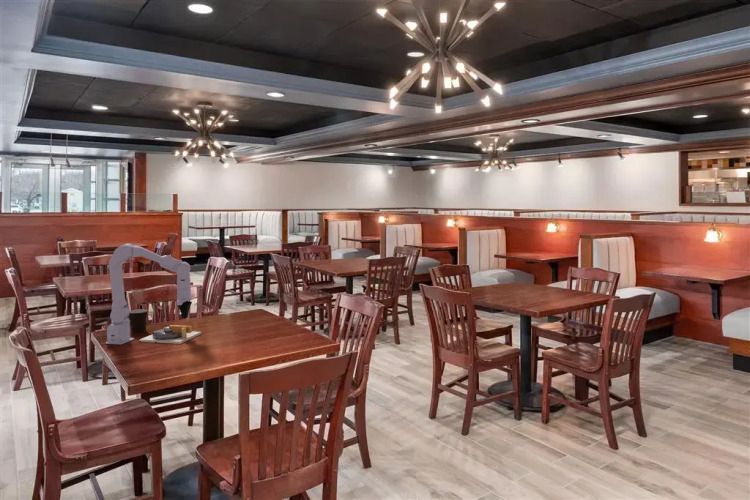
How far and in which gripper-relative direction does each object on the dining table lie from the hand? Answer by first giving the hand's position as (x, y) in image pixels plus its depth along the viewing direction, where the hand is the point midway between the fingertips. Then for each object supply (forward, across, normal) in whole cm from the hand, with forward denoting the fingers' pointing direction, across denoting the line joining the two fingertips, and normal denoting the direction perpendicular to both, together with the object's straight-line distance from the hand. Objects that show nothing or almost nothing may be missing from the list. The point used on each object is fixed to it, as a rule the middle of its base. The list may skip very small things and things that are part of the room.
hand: (184, 317), depth 244 cm
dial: (+8, -1, +5) cm, 10 cm away
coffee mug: (+10, +14, +27) cm, 32 cm away
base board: (+9, 0, +7) cm, 11 cm away
